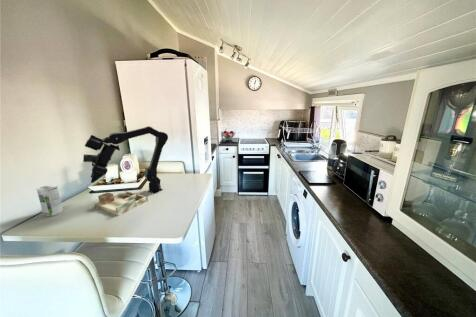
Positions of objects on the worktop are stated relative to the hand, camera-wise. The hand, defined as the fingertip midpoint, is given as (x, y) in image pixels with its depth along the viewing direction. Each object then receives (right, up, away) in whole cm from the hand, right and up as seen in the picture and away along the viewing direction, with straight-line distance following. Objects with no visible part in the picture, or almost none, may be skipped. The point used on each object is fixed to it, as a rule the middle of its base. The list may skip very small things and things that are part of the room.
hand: (91, 179), depth 103 cm
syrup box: (-16, -17, -5) cm, 24 cm away
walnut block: (+7, -12, +2) cm, 14 cm away
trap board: (+14, -14, +4) cm, 20 cm away
